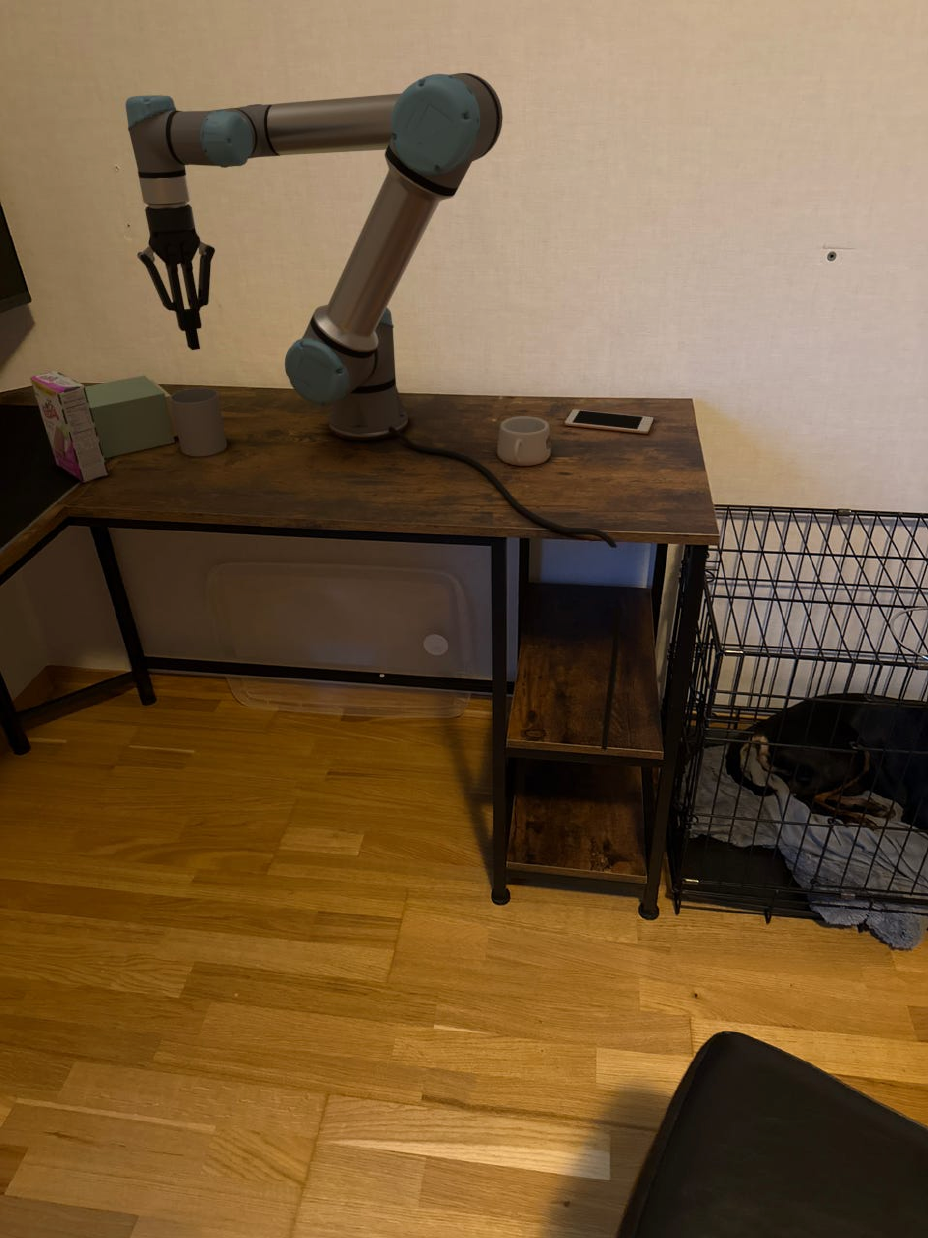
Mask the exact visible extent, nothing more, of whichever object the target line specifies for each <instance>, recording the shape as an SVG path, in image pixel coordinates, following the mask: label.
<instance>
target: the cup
mask: <svg viewBox="0 0 928 1238" xmlns="http://www.w3.org/2000/svg"><path fill="white" fill-rule="evenodd" d="M170 395H171V404H172V409H173V414H174V418H175V423H176V428H177V433H178V436H177V438H178V442H179V447H180V451H181V453H183V454H184V455H186V456H190V457H207V456H211V455H216V454H218V453H221V452H223V451H224V450H226V448H227V447H228V442H227V437H226V436H227V435H226V431H225V424H224V419H223V414H222V409H221V404H220V402H221V401H220V398H219V392H218V391H217V390H216V389H214V388H209V387H191V388H185V389H181V390H179V391H176V392H174V393H172V394H170Z"/></svg>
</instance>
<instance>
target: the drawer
mask: <svg viewBox="0 0 928 1238" xmlns="http://www.w3.org/2000/svg"><path fill="white" fill-rule="evenodd" d="M149 380H150V381H151V382H152V383H154V384H155V385H156V386H157V387H158V388H159V389H160V390H162V391H163V392H164V393H165V398H166V402H167V407H168V412H169V416H170V421H171V426H172V430H173V435H174V438H175V437H178V433H177V428H176V423H175V418H174V414H173V409H172V404H171V395H172V394H170V393H168V392H167V391H166V390H165V389H164V388H163V387H162V386H161V385H159V384H158V383H157V382H156V381H155V380H154V379H149Z"/></svg>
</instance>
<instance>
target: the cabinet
mask: <svg viewBox="0 0 928 1238" xmlns="http://www.w3.org/2000/svg"><path fill="white" fill-rule="evenodd" d="M150 380H151V379H149V378H148V377H147V376H146V375H140V376H134V377H128V378H123V379H119V380H113V381H108V382H107V381H106V382H102V383H97V384H92V385H88V386H87V385H85V390H86V394H87V398H88V401H89V405H90V408H91V412H92V416H93V419H94V423H95V427H96V431H97V434H98V438H99V442H100V445H101V449H102V452H103V456H104V459H108V458H113V457H117V456H121V455H126V454H129V453H134V452H139V451H143V450H147V449H152V448H156V447H162V446H164V445H170V444H173V443H176V441H175V440H176V439H175V437H174V435H173V430H172V426H171V421H170V416H169V412H168V407H167V402H166V398H165V393H164V392H163V391H162V390H160V389H159V388H158V387H157V386H156V385H155V384H154V383H152V382H151V381H150Z"/></svg>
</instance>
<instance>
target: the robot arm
mask: <svg viewBox="0 0 928 1238" xmlns="http://www.w3.org/2000/svg"><path fill="white" fill-rule="evenodd" d="M125 112H126V119H127V131H128V134H129V137H130V142H131V146H132V150H133V154H134V159H135V163H136V167H137V175H138V181H139V186H140V190H141V195H142V202H143V203H144V204H146V205H147V206H146V207H145V209H144V211H145V217H146V222H147V223H146V224H147V228H148V233H149V239H148V241H147V242H148V246H147V247H146V248H145V249H144V250H143V251H139V252H137V255H136V256H137V258H138V259H139V261H140V262H141V263H142V264H143V265H144V266H145V268H146V270H147V272H148V274H149V276H150V279H151V281H152V283H153V286H154V288H155V290H156V292H157V295H158V297H159V299H160V302H161V304H162V306H163V307H164V308H165V309H166V310H168V311H170V312H171V311H172V312H175V316H176V321H177V327H178V328H179V330H180V331H181V332H184V334H185V339H186V345H187V347H188V348H189V349H190V350H191V351H197V350H201V344H200V339H199V335H198V329H202V319H201V313H200V311H201V309H202V307H205V306H208V305H209V303H210V302H209V301H210V284H211V269H212V259H213V257H214V255H215V253H216V249H215V247H214V246H212V245H210V244H206V243H204V242H203V241H201V238H200V236H199V234H198V232H197V230H196V224H195V217H194V211H193V207H192V205H191V204H189V202H190V201H191V194H190V189H189V188H190V187H189V183H188V178H187V177H188V176H187V172H186V166H205V167H220V168H223V169H224V168H225V169H227V168H229V167H231V168H234V167H242V166H245V165H246V164H247V163H248V161H249V159H255V158H267V157H280V156H293V155H294V156H295V155H297V156H298V155H310V154H311V155H313V154H315V155H316V154H329V153H330V154H332V153H350V152H367V151H384V158H385V161H386V162H385V163H386V165H387V168H388V171H387V173H386V176H385V178H384V180H383V182H382V185H381V186H380V189H379V191H378V193H377V195H376V197H375V199H374V202H373V204H372V207H371V208H370V211H369V213H368V215H367V218H366V220H365V222H364V224H363V226H362V228H361V230H360V233H359V235H358V237H357V239H356V241H355V244H354V246H353V248H352V251H351V253H350V255H349V257H348V259H347V262H346V264H345V266H344V268H343V270H342V273H341V275H340V277H339V279H338V281H337V283H336V286H335V288H334V290H333V292H332V295H331V297H330V299H329V302H328V303H327V304H324V305H319V306H318V307H316V308H315V310H314V312H313V314H312V315H311V318H310V320H309V322H308V325H307V327H306V329H305V331H304V334H303V336H302V337H301V338H300V339H297V340H296V341H294V342H293V343H292V344H291V346H290V347H289V348H288V350H287V351H286V354H285V358H284V370H285V374H286V376H287V377H288V380H289V383H290V386H291V387H292V389H293V390H294V391H295V392H296V393H297V394H298V395H299V396H300V397H301V398H302V399H304V401H307V402H309V403H311V404H314V405H316V406H321V407H324V406H331V407H330V412H329V415H328V427H329V431H330V433H331V434H332V435H333V436H336V437H337V438H339V439H343V440H347V441H354V442H372V441H380V440H386V439H390V438H393V437H395V436H396V437H397V438H399V440H401V441H403V443H405V444H406V445H407V446H409V447H410V448H411V449H414V450H416V451H419V452H422V453H426V454H433V455H441V456H446V457H451V458H455V459H458V460H461V461H463V462H465V463H467V464H469V465H471V466H472V467H474V468H476V469H477V470H478V471H480V472H481V473H482V474H484V475H485V476H486V477H487V479H489V480H490V481H491V482H492V484H493V485H494V487H496V489H497V490H498V491H499V492H500V493H501V494H502V495H503V497H505V499H506V500H507V501H508V502H509V504H510V505H512V506H513V508H515V509H516V510H517V511H518V512H520V513H521V514H522V515H524V516H525V517H527V518H528V519H530V520H532V522H533V521H534V522H535V523H537V524H539V525H540V526H543V527H546V528H548V529H550V530H553V531H555V532H558V533H562V534H567V535H587V536H594V537H598V538H599V539H602V540H603V541H604V542H606V544H607V545H608V546H609V547H610V548H612V549H616V548H618V546H617V544H616V542H615V540H613V538H612V537H611V536H610V535H608V534H607V533H605V532H604V531H602V530H600V529H596V528H591V527H590V528H589V527H566V526H562V525H560V524H557V523H554V522H552V521H550V520H547V519H544V518H543V517H541V516H539V515H537V514H535V513H533V512H532V511H531V510H529V509H527V508H526V507H524V506H523V505H522V504H520V502H519V501H517V500H516V499H515V498H514V496H513V495H512V494H511V493H510V491H508V489H507V488H505V486H504V485H503V484H502V483H501V482H500V480H499V479H498V478H497V477H496V476H495V474H494V473H493V472H491V471H490V470H489V469H488V468H487V467H485V466H484V465H483V464H481V463H480V462H478V461H477V460H476V459H473V458H471V457H469V456H466V455H464V454H461V453H460V452H457V451H454V450H449V449H443V448H442V449H440V448H433V447H429V446H428V447H427V446H424V445H420V444H417V443H415V442H414V441H412V440H411V439H410V438H409V437H407V436H406V435H405V434H403V433H404V432H405V431H406V430H407V429H408V426H409V421H408V413H407V411H406V408H405V406H404V403H403V400H402V398H401V395H400V393H399V390H398V387H397V381H396V380H397V378H396V361H395V359H396V358H395V342H394V339H395V338H394V324H393V317H392V312H391V310H390V309H389V307H388V305H389V304H390V301H391V299H392V297H393V295H394V294H395V291H396V289H397V287H398V285H399V284H400V281H401V280H402V277H403V275H404V274H405V271H406V270H407V268H408V266H409V264H410V262H411V260H412V258H413V256H414V253H415V252H416V250H417V248H418V246H419V243H420V242H421V240H422V238H423V236H424V234H425V232H426V230H427V228H428V225H429V224H430V222H431V220H432V218H433V216H434V214H435V212H436V210H437V208H438V206H439V204H440V202H443V201H446V200H449V199H452V198H454V197H455V195H456V193H457V192H458V190H459V188H460V186H461V184H462V182H463V180H464V178H465V176H466V174H467V172H468V170H469V168H470V167H471V165H472V163H473V162H475V161H477V160H480V159H482V158H483V157H485V156H486V155H487V154H489V152H490V151H491V150H493V148H494V146H495V145H496V144H497V141H498V140H499V137H500V135H501V131H502V127H503V119H504V117H503V107H502V104H501V100H500V98H499V95H498V93H497V92H496V91H495V89H494V88H493V86H492V85H491V84H490V83H489V82H488V81H487V80H486V79H484V78H482V77H481V76H479V75H477V74H474V73H470V72H458V73H451V74H445V73H434V74H429V75H425V76H423V77H422V78H419V79H418V80H416V81H414V82H412V83H411V84H410V85H408V86H407V87H406V88H404V90H403V91H402V93H391V94H390V93H389V94H377V95H376V94H375V95H364V96H354V97H353V96H352V97H342V98H341V97H340V98H328V99H317V100H304V101H293V102H291V101H290V102H280V103H274V104H273V103H272V104H271V103H270V104H269V103H268V104H262V103H254V104H248V105H245V106H238V107H229V108H219V109H211V110H188V111H187V110H186V111H183V110H178V109H177V107H176V104H175V102H174V99H173V97H171V96H170V95H162V94H160V95H159V94H158V95H156V94H155V95H150V94H149V95H134V96H130V97H127V99H126V101H125ZM197 251H198V254H199V255H200V257H199V267H198V269H199V270H198V285H197V286H198V288H197V287H196V281H195V276H194V275H195V274H194V266H193V265H194V264H193V260H194V258H195V256H196V253H197ZM154 254H155V255H156V256H157V257H158V258H159V259H160V260H161V261H162V262H163V263H164V264H165V265H164V266H165V269H166V272H167V278H168V283H169V288H170V295H171V297H170V295H169V292H168V290H167V288H166V286H165V284H164V281H163V278H162V277H161V274H160V272H159V270H158V268H157V266H156V263H154V262H155V261H156V258H155V256H154ZM178 265H180V267H181V271H182V277H183V282H184V288H185V293H186V299H187V304H188V307H189V308H185V303H184V298H183V293H182V288H181V287H182V286H181V281H180V275H179V267H178ZM171 298H172V299H171ZM620 628H621V604H618V605H615V606H613V627H612V629H613V630H612V642H611V643H612V645H611V657H610V664H609V665H610V666H609V673H608V675H609V676H608V684H607V691H606V692H607V693H606V702H605V709H604V717H603V728H602V737H601V738H602V739H601V749H604V750H606V749H607V750H608V743H609V734H610V733H609V732H610V722H611V716H612V715H611V714H612V706H613V699H614V698H613V697H614V691H615V682H616V674H617V664H618V656H619V645H620V643H619V642H620V631H621V630H620Z"/></svg>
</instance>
